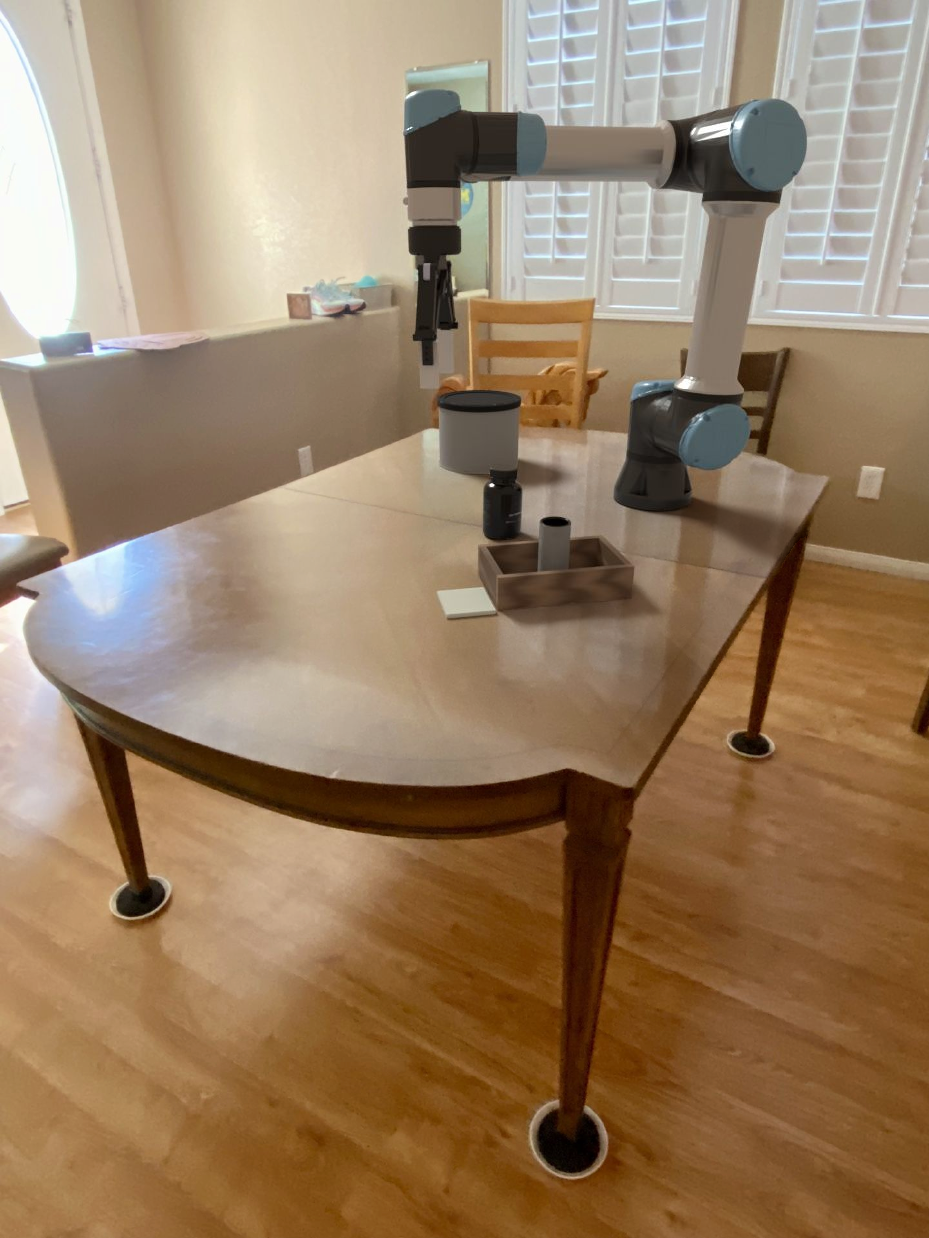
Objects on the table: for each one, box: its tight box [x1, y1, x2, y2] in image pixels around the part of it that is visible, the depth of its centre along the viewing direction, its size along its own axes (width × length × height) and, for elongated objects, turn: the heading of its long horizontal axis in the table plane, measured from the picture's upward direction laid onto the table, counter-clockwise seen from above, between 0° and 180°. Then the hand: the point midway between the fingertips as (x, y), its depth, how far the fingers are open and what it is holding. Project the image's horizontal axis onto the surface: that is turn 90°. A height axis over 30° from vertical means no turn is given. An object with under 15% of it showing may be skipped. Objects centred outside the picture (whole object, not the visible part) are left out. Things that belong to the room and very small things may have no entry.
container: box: [436, 389, 522, 475], centre depth 174 cm, size 19×19×15 cm
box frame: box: [477, 534, 635, 611], centre depth 114 cm, size 20×13×5 cm, turn 101°
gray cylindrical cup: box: [538, 515, 572, 572], centre depth 113 cm, size 4×4×10 cm
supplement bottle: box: [482, 464, 524, 541], centre depth 133 cm, size 7×7×12 cm
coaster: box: [436, 586, 497, 619], centre depth 109 cm, size 7×8×1 cm
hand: (438, 380), depth 117 cm, fingers open, 13 cm apart
